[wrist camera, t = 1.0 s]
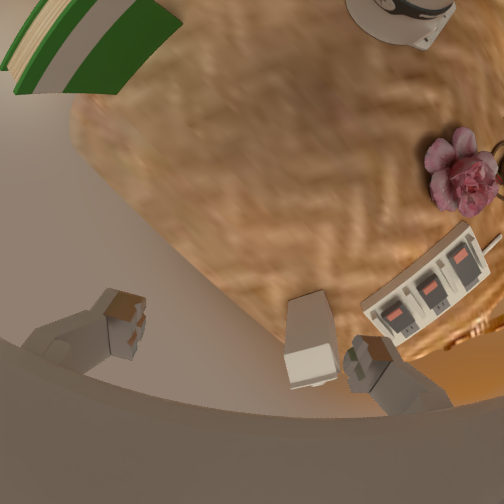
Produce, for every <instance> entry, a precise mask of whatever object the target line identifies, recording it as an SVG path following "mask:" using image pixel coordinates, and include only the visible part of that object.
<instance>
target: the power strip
mask: <svg viewBox="0 0 504 504" xmlns="http://www.w3.org/2000/svg"><path fill="white" fill-rule="evenodd" d="M501 238H502V235H501V234H499V235H498V236H497V237H496V238H495V239H494V240H493V241H492V242H491V243H490V244H489V245H488V246H487V247H486V248H485V249H484V250H483V251H481V249H480V246H479V244H478V242H477V240H476V238H475V235H474V233H473V231H472V229H471V227H470V226H469V225H468V224H467V223H465V222H464V221H461V222H460V223H459V224H458V225H457V226H456V227H455V228H454V229H453V230H452V231H450V232H449V233H448V234H447V235H446V236H445V237H444V238H443V239H441V240H440V241H439V242H438V243H437V244H436V245H435V246H433V247H432V248H431V249H430V250H429V251H427V252H426V253H425V254H424V255H423V256H422V257H420V258H419V259H418V260H417V261H415V262H414V263H413V264H412V265H411V266H409V267H408V268H407V269H406V270H404V271H403V272H402V273H400V274H399V275H398V276H397V277H395V278H394V279H393V280H391V281H390V282H389V283H388V284H386V285H385V286H384V287H382V288H381V289H380V290H378V291H377V292H376V293H374V294H373V295H371V296H370V297H369V298H367V299H366V300H365V301H363V302H362V303H361V307H362V310H363V313H364V314H365V315H366V316H367V317H368V318H369V320H370V321H371V322H372V323H373V324H374V325H375V326H376V327H377V328H378V330H379V331H380V332H381V333H382V334H383V335H384V336H385V337H389V338H390V339H391V340H392V342H393V344H394V345H395V347H397V346H398V345H400V344H401V343H403V342H404V341H406V340H407V339H409V338H410V337H412V336H413V335H414V334H416V333H417V332H419V331H420V330H422V329H423V328H424V327H426V326H427V325H428V324H430V323H431V322H433V321H434V320H435V319H437V318H438V317H439V316H440V315H442V314H443V313H444V312H446V311H447V310H448V309H449V308H451V307H452V306H453V305H454V304H456V303H457V302H458V301H459V300H461V299H462V298H463V297H464V296H465V295H467V294H468V293H469V292H470V291H471V290H472V289H474V288H475V287H476V286H477V285H478V284H479V283H480V282H481V281H483V280H484V279H485V278H486V277H487V276H488V275H489V274H490V270H489V268H488V265H487V263H486V260H485V258H484V255H485V254H486V253H487V252H488V251H489V250H490V249H491V248H492V247H493V246H495V245H496V244H497V243H498V242H499V241H500V240H501ZM463 242H465V243H466V244H467V246H468V247H469V249H470V251H471V253H472V255H473V257H474V259H475V260H476V262H477V264H478V266H479V268H480V270H481V272H482V273H481V274H480V275H479V276H478V277H477V278H475V279H474V280H473V281H472V282H471V283H470V284H469V285H467V286H466V287H464V286H463V285H462V283H461V281H460V279H459V277H458V275H457V274H456V272H455V270H454V268H453V267H452V265H451V263H450V262H449V260H448V258H447V256H449V255H450V254H451V253H452V252H453V251H454V250H455V249H456V248H458V247H459V246H460V245H461V244H462V243H463ZM434 272H435V274H436V275H437V276H438V278H439V280H440V282H441V284H442V285H443V287H444V289H445V291H446V293H447V295H448V297H446V298H445V299H444V300H443V301H441V302H440V303H439V304H438V305H436V306H435V307H434V308H432V309H431V310H430V308H429V307H428V305H427V304H426V302H425V301H424V300H423V298H422V297H421V295H420V294H419V292H418V291H417V289H416V287H417V286H418V285H420V284H421V283H422V282H423V281H425V280H426V279H427V278H428V277H430V276H431V275H432V274H433V273H434ZM399 300H400V301H401V302H402V303H403V304H404V306H405V307H406V308H407V309H408V310H409V312H410V313H411V314H412V315H413V317H414V319H415V322H414V323H412V324H411V325H409V326H408V327H407V328H405V329H404V330H402V331H401V332H399V333H398V334H397V333H396V332H395V331H394V330H393V329H392V328H391V327H390V326H389V325H388V324H387V323H386V322H385V321H384V320H383V319H382V317H381V315H380V314H381V313H382V312H383V311H385V310H386V309H388V308H389V307H390V306H392V305H393V304H394V303H396V302H397V301H399Z"/></svg>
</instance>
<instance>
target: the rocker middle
mask: <svg viewBox="0 0 504 504" xmlns="http://www.w3.org/2000/svg"><path fill="white" fill-rule="evenodd" d="M416 289H417V291H418V292H419V294H420V295H421V297H422V298H423V300H424V301H425V302H426V304H427V305H428V307H429V308H430V310H431V309H432V308H434V307H435V306H436V305H438V304H439V303H440V302H441V301H443V300H444V299H445V298H446V297H448V295H447V293H446V291H445V289H444V287H443V285H442V284H441V282H440V280H439V278H438V276H437V275H436V274H435V272H434V273H433V274H432V275H431V276H430V277H428V278H427V279H426V280H425V281H423V282H422V283H421V284H420V285H418V286H417V287H416Z"/></svg>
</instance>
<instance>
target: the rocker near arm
mask: <svg viewBox="0 0 504 504" xmlns="http://www.w3.org/2000/svg"><path fill="white" fill-rule="evenodd" d="M447 258H448V260H449V262H450V263H451V265H452V267H453V268H454V270H455V272H456V274H457V275H458V277H459V279H460V281H461V283H462V285H463V286H464V287H466V286H467V285H469V284H470V283H471V282H472V281H473V280H474V279H475V278H477V277H478V276H479V275H480V274H481V273H482V272H481V270H480V268H479V266H478V264H477V262H476V260H475V259H474V257H473V255H472V253H471V251H470V249H469V247H468V246H467V244H466V243H465V242H463V243H462V244H461V245H460V246H459V247H458V248H456V249H455V250H454V251H453V252H452V253H451V254H450V255H449V256H447Z"/></svg>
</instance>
